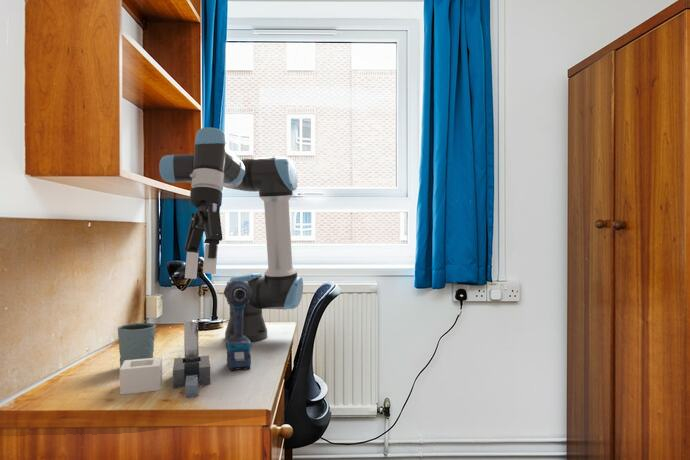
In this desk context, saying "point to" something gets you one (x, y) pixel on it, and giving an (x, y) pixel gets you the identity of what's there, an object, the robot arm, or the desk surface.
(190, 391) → the blue-grey rectangular bar
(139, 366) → the block
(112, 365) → the desk surface
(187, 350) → the silver rounded rod
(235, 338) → the impact wrench
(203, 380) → the socket block
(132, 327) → the grey-green cup
